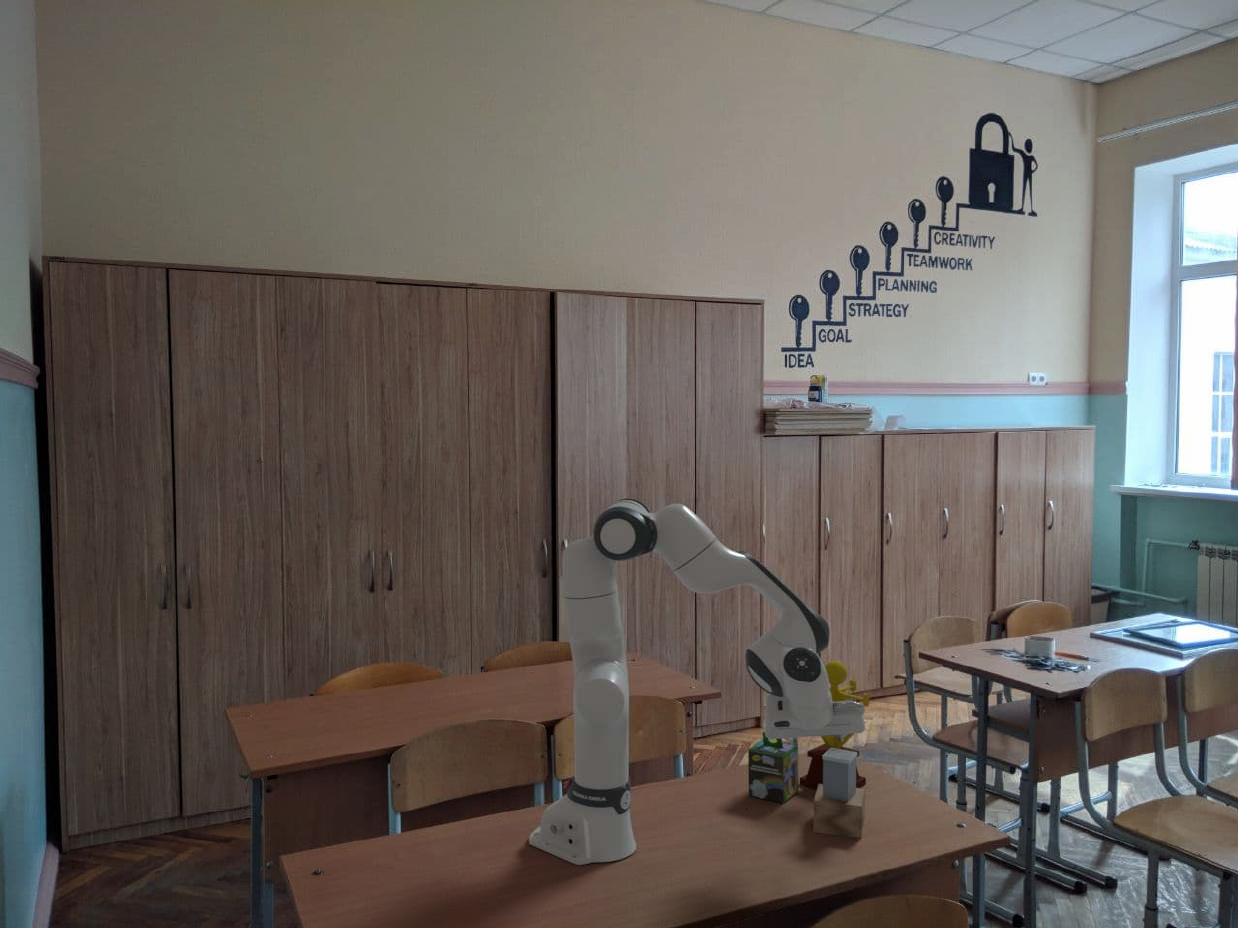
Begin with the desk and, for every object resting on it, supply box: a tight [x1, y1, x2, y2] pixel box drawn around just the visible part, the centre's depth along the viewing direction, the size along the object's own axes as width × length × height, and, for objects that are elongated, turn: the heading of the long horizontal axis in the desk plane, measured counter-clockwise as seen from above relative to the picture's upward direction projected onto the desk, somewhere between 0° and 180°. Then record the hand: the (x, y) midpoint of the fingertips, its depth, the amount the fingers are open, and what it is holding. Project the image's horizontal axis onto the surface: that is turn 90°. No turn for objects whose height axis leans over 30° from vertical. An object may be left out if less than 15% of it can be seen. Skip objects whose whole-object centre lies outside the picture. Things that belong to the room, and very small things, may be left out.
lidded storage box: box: [822, 748, 858, 802], centre depth 212 cm, size 6×6×9 cm
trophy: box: [799, 660, 870, 791], centre depth 236 cm, size 14×16×30 cm
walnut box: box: [812, 784, 866, 839], centre depth 212 cm, size 10×10×7 cm
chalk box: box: [747, 731, 799, 805], centre depth 230 cm, size 9×9×15 cm
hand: (817, 739), depth 205 cm, fingers open, 8 cm apart
